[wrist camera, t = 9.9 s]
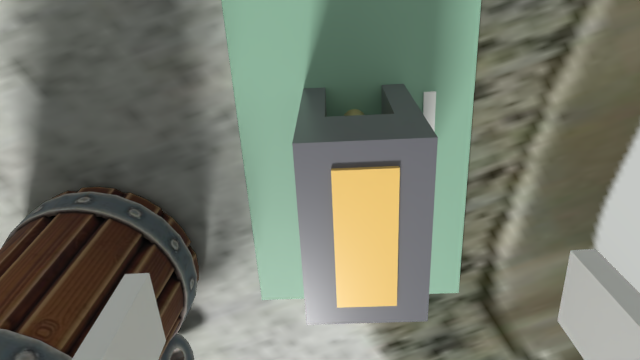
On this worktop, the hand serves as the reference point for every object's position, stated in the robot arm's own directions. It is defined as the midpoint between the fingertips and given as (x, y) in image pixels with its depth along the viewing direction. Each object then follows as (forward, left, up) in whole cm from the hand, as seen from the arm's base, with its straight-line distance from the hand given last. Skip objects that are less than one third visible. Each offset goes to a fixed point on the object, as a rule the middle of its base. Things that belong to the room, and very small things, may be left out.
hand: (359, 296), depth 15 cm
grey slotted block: (0, 0, -11) cm, 11 cm away
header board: (0, 0, -12) cm, 12 cm away
